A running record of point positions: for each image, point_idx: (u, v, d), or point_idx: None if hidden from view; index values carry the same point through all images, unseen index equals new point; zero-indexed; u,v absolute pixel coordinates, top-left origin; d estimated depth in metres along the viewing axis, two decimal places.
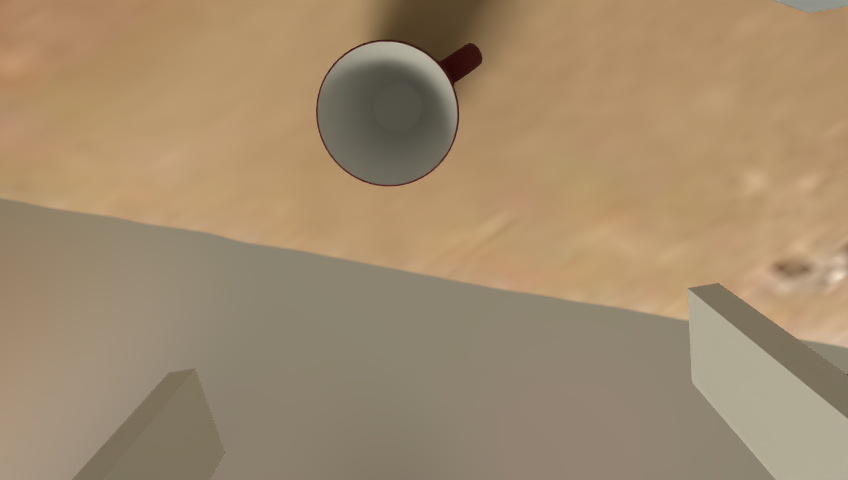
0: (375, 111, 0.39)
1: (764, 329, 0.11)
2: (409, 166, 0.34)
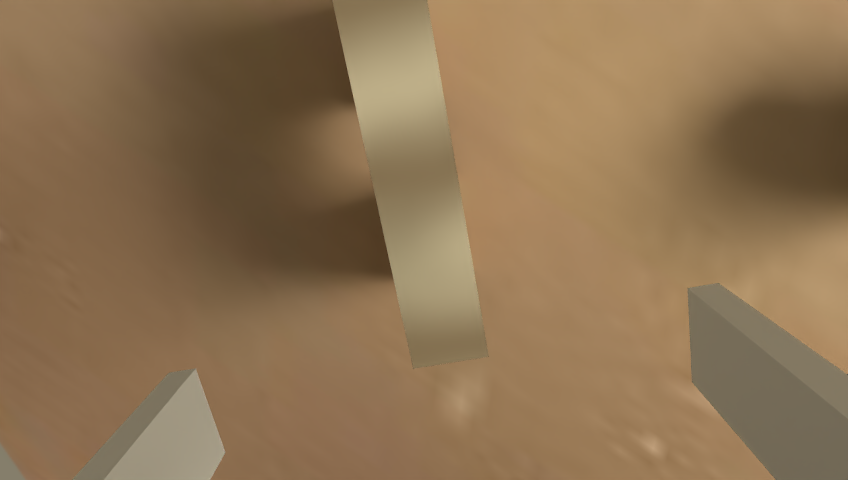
0: None
1: (764, 329, 0.11)
2: None
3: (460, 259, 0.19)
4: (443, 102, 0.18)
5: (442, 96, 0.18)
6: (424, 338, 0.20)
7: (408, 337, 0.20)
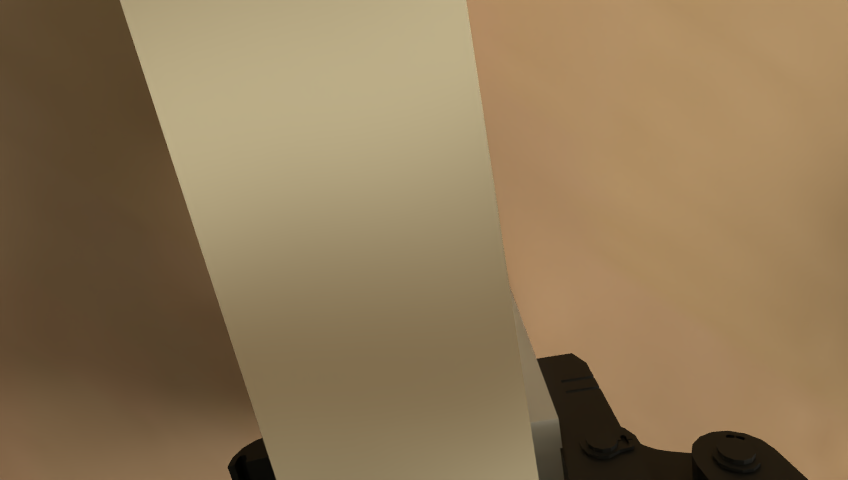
0: None
1: None
2: None
3: None
4: (482, 139, 0.05)
5: (479, 118, 0.05)
6: None
7: None
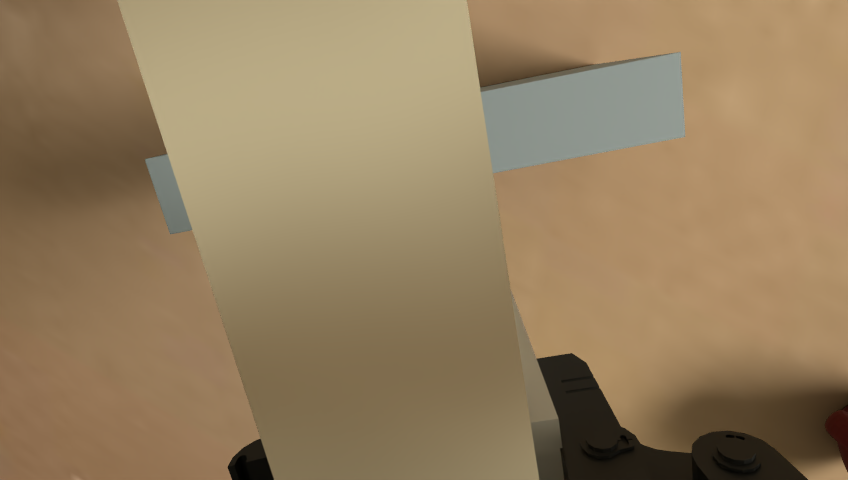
0: None
1: None
2: None
3: None
4: (483, 140, 0.05)
5: (479, 118, 0.05)
6: None
7: None
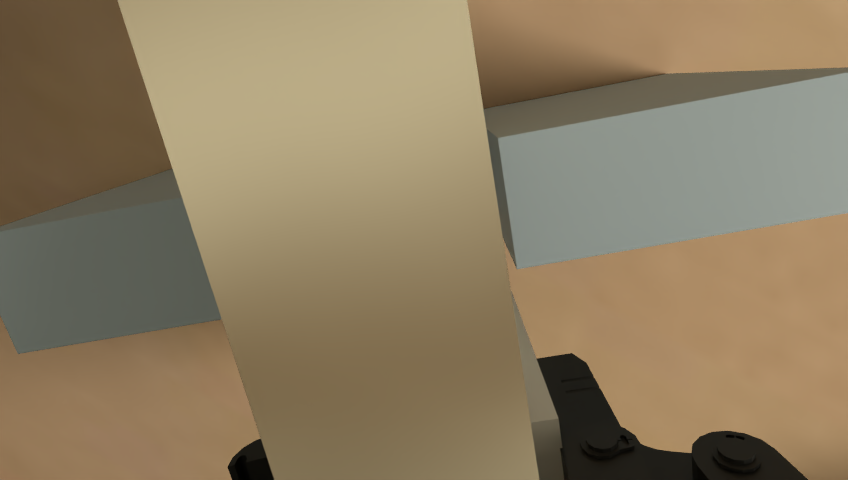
0: None
1: None
2: None
3: None
4: (483, 137, 0.05)
5: (479, 115, 0.05)
6: None
7: None
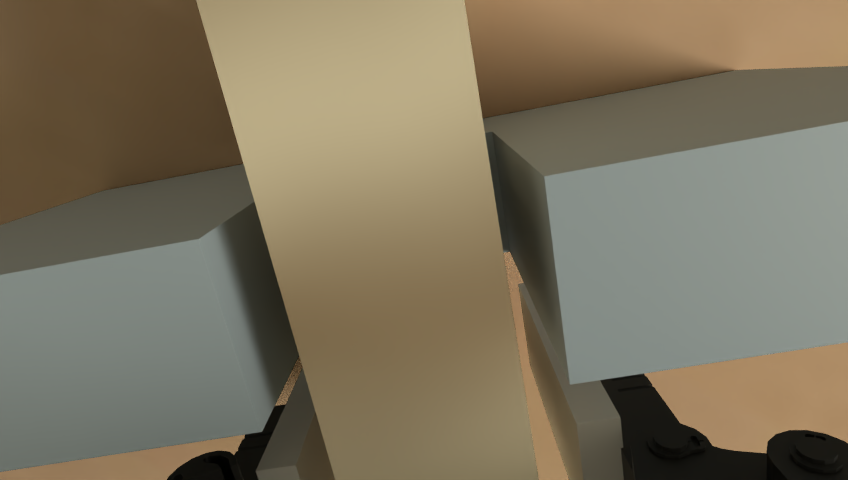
0: None
1: None
2: None
3: None
4: (481, 134, 0.06)
5: (478, 117, 0.06)
6: None
7: None
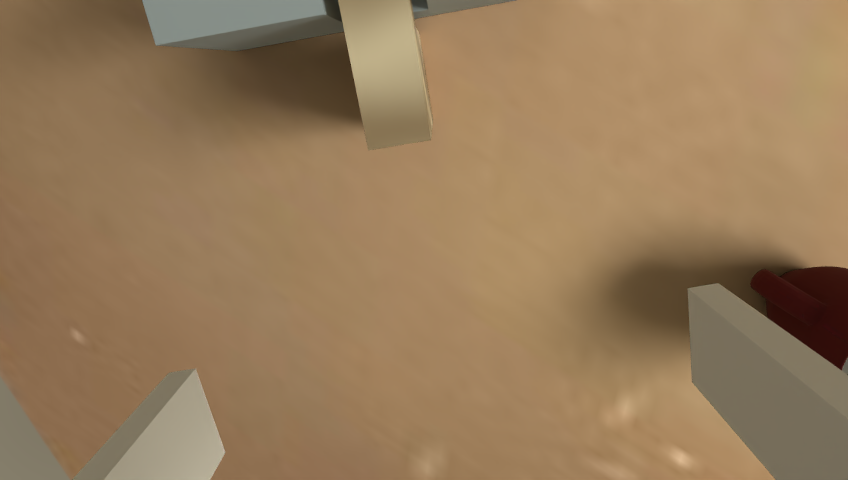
0: None
1: (764, 329, 0.11)
2: None
3: (407, 49, 0.23)
4: None
5: None
6: (376, 122, 0.24)
7: (364, 121, 0.24)
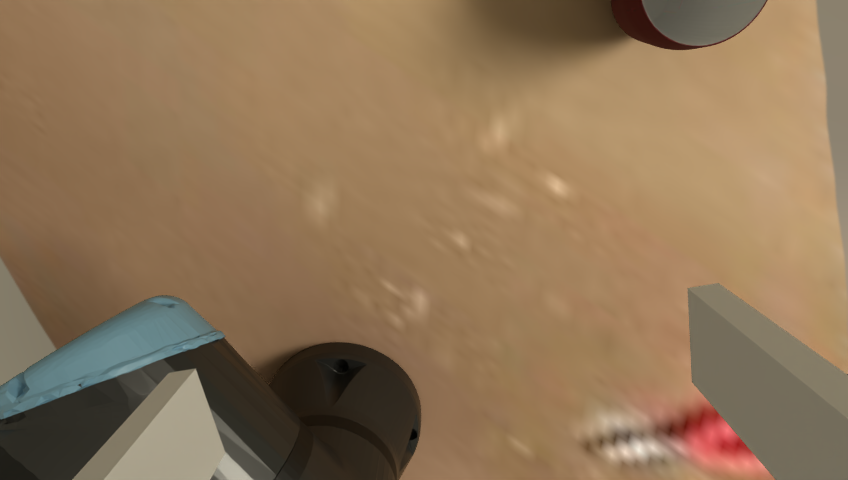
0: (655, 18, 0.40)
1: (764, 329, 0.11)
2: None
3: None
4: None
5: None
6: None
7: None
